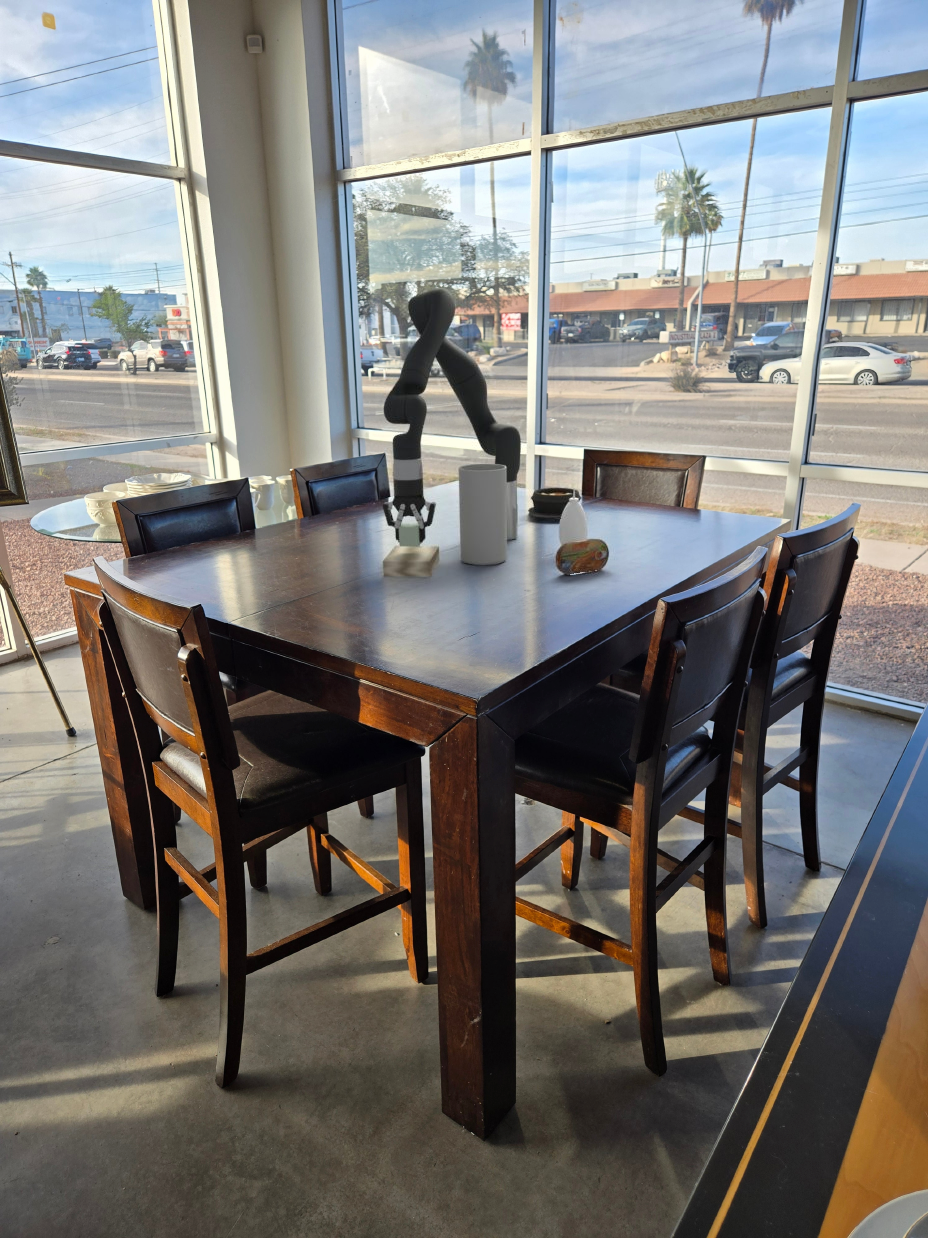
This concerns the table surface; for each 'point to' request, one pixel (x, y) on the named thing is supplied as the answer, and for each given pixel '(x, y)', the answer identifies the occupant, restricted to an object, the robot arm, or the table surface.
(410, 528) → the cube
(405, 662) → the table surface
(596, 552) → the tin
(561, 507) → the casserole
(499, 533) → the cylinder vase
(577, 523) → the sauce bottle
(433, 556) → the base block
